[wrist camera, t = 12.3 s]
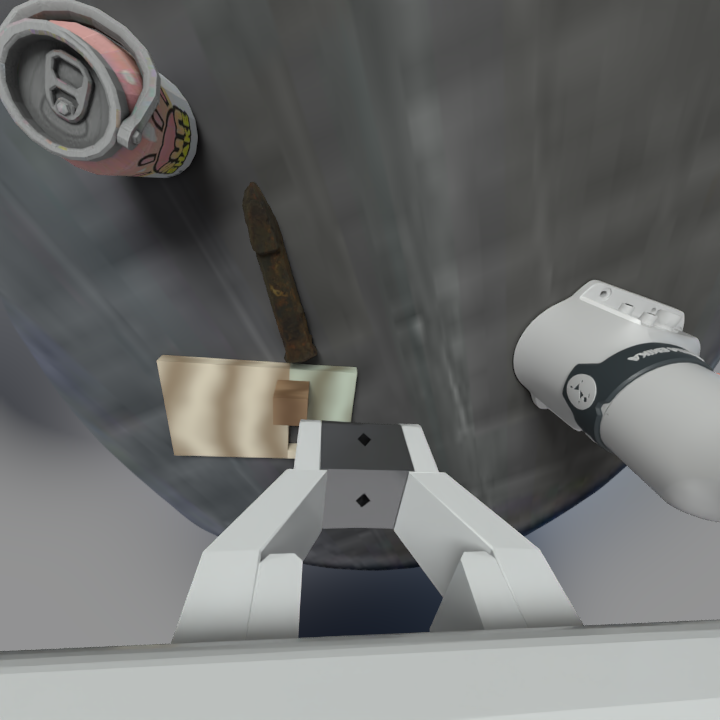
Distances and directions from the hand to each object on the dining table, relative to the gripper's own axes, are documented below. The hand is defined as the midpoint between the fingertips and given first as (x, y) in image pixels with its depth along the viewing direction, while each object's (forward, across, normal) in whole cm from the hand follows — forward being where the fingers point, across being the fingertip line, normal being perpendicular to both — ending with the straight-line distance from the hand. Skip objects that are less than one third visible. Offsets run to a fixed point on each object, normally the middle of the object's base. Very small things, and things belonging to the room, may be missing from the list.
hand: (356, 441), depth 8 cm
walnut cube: (+30, +4, +19) cm, 35 cm away
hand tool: (+32, +6, +4) cm, 32 cm away
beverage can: (+31, +17, -9) cm, 37 cm away
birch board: (+31, +8, +22) cm, 39 cm away
